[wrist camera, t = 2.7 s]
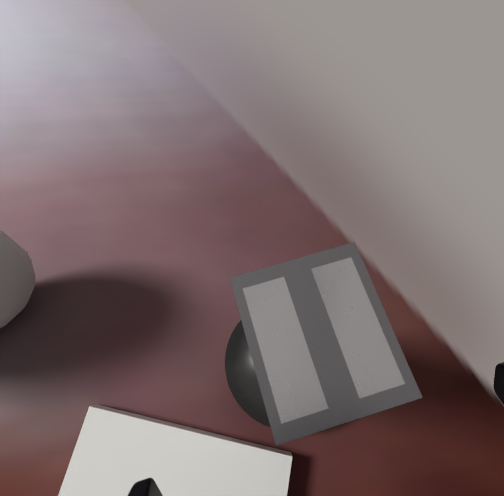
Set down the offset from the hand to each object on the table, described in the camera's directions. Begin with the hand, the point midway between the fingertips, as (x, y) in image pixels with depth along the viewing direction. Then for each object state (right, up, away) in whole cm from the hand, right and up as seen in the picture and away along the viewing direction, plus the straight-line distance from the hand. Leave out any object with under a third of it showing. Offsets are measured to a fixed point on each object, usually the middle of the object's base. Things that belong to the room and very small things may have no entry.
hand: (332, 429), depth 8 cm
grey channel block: (0, -2, +9) cm, 10 cm away
